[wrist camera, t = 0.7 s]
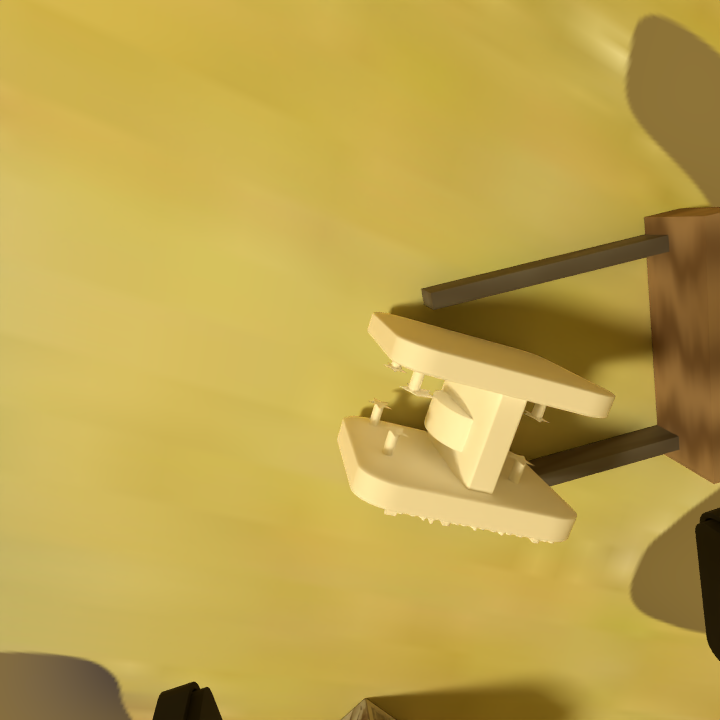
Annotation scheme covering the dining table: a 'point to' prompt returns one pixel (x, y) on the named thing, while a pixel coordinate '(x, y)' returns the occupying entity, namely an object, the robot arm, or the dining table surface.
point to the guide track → (669, 339)
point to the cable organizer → (464, 433)
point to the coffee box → (367, 712)
